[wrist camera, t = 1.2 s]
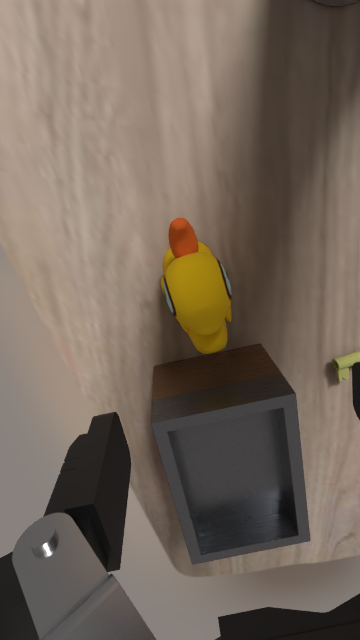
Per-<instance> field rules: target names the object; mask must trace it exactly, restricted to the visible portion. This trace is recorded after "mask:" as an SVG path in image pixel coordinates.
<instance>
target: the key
mask: <svg viewBox="0 0 360 640" xmlns="http://www.w3.org/2000/svg"><path fill="white" fill-rule="evenodd" d="M356 362H360V351H357V352H354V353H351V354H348V355H345V356H342V357H338V358H335V359H333V360H332V364H333V366H334V368H335V369H336V374H337V381H339V382H342V379H345V380H348V379H350V378H349V367H350V366H353V364H354V363H356Z"/></svg>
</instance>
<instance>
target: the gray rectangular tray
mask: <svg viewBox="0 0 360 640" xmlns="http://www.w3.org/2000/svg"><path fill="white" fill-rule="evenodd" d="M151 425H152V429H153V432H154V436H155V439H156V442H157V446H158V449H159V453H160V456H161V459H162V463H163V466H164V470H165V473H166V477H167V480H168V483H169V487H170V490H171V494H172V497H173V500H174V504H175V507H176V511H177V514H178V518H179V521H180V524H181V528H182V531H183V535H184V538H185V541H186V545H187V548H188V552H189V555H190V559H191V562H192V565H193V564H198V563H203V562H208V561H213V560H218V559H223V558H228V557H233V556H238V555H243V554H248V553H253V552H258V551H263V550H268V549H273V548H278V547H283V546H288V545H293V544H298V543H303V542H308V541H310V532H309V522H308V511H307V501H306V491H305V481H304V471H303V461H302V451H301V441H300V431H299V421H298V411H297V401H296V393H295V392H294V390H293V389H292V387H291V386H290V385H289V383H288V382H287V380H286V379H285V378H284V376H283V375H282V373H281V372H280V370H279V369H278V368H277V366H276V365H275V363H274V362H273V360H272V359H271V358H270V356H269V355H268V353H267V352H266V351H265V349H264V348H263V346H262V345H261V344H256V345H251V346H247V347H242V348H237V349H233V350H228V351H223V352H219V353H214V354H209V355H205V356H200V357H195V358H191V359H186V360H181V361H177V362H172V363H167V364H162V365H158V366H154V373H153V394H152V415H151Z"/></svg>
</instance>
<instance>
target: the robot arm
mask: <svg viewBox="0 0 360 640" xmlns="http://www.w3.org/2000/svg"><path fill="white" fill-rule="evenodd" d="M314 1H316V2H318V3H322V4H325V5H328V6H343V5H347V4H351V3H355V2H357V1H359V0H314ZM352 387H353V406H354V410H355V412H356V414H357V416H358V418H359V420H360V362H356V363H354V364H353V367H352ZM64 461H65V463H63V466H62V468H61V471H60V474H59V477H58V479H57V482H56V484H55V487H54V490H53V492H52V495H51V498H50V500H49V503H48V506H47V508H46V512H45V514H44V516H43V518H40V519H39V520H37V521H36V522H34V523H33V524H32V525H31V526H30V527H28V528H27V530H25V532H24V533H23V534H22V535H21V537H20V538H19V540H18V541H17V543H16V545H15V548H14V550H13V552H11V553H9V554H7V555H5V556H3V557H1V558H0V640H156V638H155V637H154V635H153V634H152V632H151V631H150V629H149V628H148V626H147V624H146V623H145V622H144V620H143V618H142V617H141V615H140V614H139V612H138V611H137V609H136V608H135V606H134V605H133V603H132V602H131V600H130V599H129V597H128V596H127V594H126V593H125V591H124V590H123V588H122V587H121V585H120V584H119V582H118V581H117V579H115V577H114V576H113V575H112V574H110V575H109V574H108V573H107V572H110V571H115V570H119V569H120V563H121V554H122V545H123V536H124V526H125V517H126V508H127V499H128V489H129V481H130V471H131V457H130V451H129V447H128V444H127V441H126V438H125V435H124V431H123V428H122V425H121V422H120V419H119V416H118V414H117V413H116V412H112V413H108V414H103V415H98V416H94V417H93V418H92V421H91V425H90V428H89V431H88V433H87V434H82V435H79V436H78V438H77V439H76V440H75V441H74V442H73V444H72V445H71V446H70V447H69V450H68V452H67V455H66V458H65V460H64ZM218 620H219V627H220V634H221V636H220V637H219V638H217V639H215V640H360V594H358V595H356V596H355V597H353V598H351V599H350V600H348V601H347V602H345V603H343V604H341V605H340V606H338V607H336V608H335V609H333V610H331V611H329V612H326V613H319V612H309V611H300V610H291V609H281V608H272V607H266V608H261V609H256V610H251V611H246V612H241V613H236V614H231V615H226V616H221V617H218Z"/></svg>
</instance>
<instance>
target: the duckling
mask: <svg viewBox="0 0 360 640" xmlns="http://www.w3.org/2000/svg"><path fill="white" fill-rule="evenodd" d="M169 243H170V248H169V249H168V250H167V252H166V254H165V256H164V259H163V274H164V276H163V277H162V278H161V288H162V291H163V293H164V295H165V297H166V300H167V303H168V306H169V308H170V310H171V312H172V313H173V315H174V316H175V317H176V319H177V320H178V321H179V323H180V325H181V327H182V328H183V329H184V331H185V332H186V333H188V335H189V337H190V338H191V340H192V342H193V344H194V346H195V347H196V349H197V350H198V351H199V352H201V353H203V354H211V353H216V352H218V351H220V350H222V349H223V348H224V347H225V346H226V344H227V341H228V334H227V328H226V320H227V321H228V322H231V320H232V312H231V306H230V304H231V286H230V282H229V278H228V275H227V273H226V271H225V269H224V267H223V266H222V264H221V263H220V262H219V261H218V260H217V259H216V258H215V257H214V256H213V254H212V252H211V251H210V249H209V248H208V247H207V246H206V245H205V244H203V243H202V242H200V241H197V238H196V235H195V232H194V230H193V228H192V227H191V225H190V224H189V222H188V221H187V220H186V219H184V218H178V219H175V220H173V221H172V222H171V224H170V227H169Z"/></svg>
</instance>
